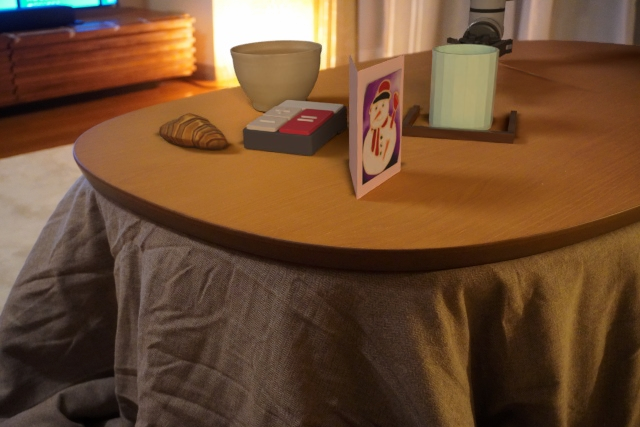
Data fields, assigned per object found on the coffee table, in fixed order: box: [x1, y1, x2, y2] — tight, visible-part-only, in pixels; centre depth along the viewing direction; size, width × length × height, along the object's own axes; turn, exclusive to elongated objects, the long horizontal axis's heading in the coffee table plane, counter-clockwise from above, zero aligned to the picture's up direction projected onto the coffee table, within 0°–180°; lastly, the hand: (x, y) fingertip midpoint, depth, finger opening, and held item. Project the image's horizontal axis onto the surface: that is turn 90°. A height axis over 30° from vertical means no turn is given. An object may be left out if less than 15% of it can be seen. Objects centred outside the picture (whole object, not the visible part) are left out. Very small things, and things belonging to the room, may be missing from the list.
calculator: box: [242, 100, 348, 157], centre depth 95 cm, size 11×4×15 cm
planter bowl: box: [229, 39, 323, 113], centre depth 111 cm, size 16×16×11 cm
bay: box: [402, 104, 518, 144], centre depth 99 cm, size 14×17×2 cm
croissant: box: [158, 112, 228, 151], centre depth 92 cm, size 14×7×5 cm, turn 54°
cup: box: [428, 44, 500, 131], centre depth 98 cm, size 10×10×12 cm
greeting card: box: [348, 52, 405, 201], centre depth 75 cm, size 11×7×15 cm, turn 147°
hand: (471, 59), depth 108 cm, fingers closed
